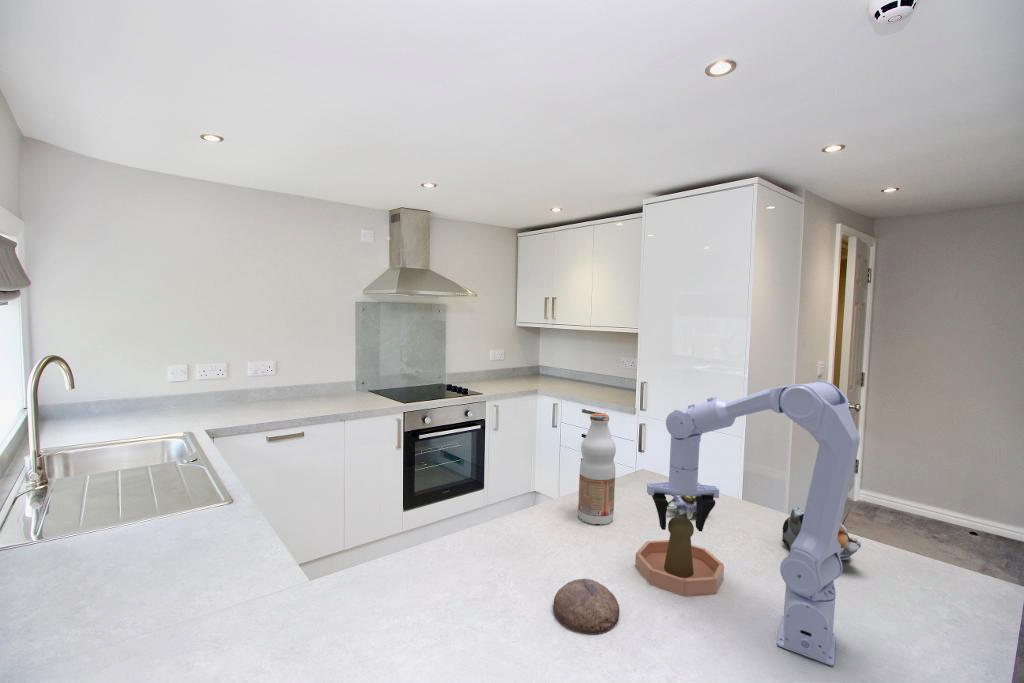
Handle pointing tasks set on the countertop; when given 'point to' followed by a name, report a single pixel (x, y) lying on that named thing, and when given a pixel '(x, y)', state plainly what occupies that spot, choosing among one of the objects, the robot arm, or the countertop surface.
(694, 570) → the octagonal tray
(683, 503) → the passion flower
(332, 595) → the countertop surface
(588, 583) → the decorative stone
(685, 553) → the olive knobbed peg
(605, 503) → the fruit juice
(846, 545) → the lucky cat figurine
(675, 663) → the countertop surface
